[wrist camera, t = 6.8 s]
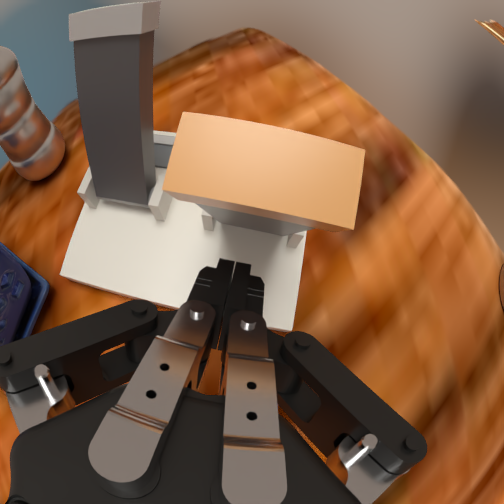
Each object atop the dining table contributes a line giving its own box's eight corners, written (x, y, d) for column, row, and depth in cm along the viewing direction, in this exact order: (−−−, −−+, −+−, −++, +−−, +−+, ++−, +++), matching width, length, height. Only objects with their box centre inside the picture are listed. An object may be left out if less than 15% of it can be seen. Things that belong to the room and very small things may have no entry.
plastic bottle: (79, 157, 28) (2, 13, 9) (36, 199, 26) (-69, 76, 7) (59, 133, 29) (-6, 8, 10) (19, 169, 27) (-64, 59, 8)
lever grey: (107, 188, 25) (90, 9, 12) (160, 197, 25) (160, 1, 12) (95, 205, 23) (68, 14, 11) (150, 215, 23) (142, 3, 11)
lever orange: (224, 197, 24) (182, 111, 8) (289, 210, 24) (364, 150, 8) (218, 225, 24) (161, 189, 8) (283, 239, 24) (353, 229, 8)
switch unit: (125, 139, 29) (113, 109, 24) (309, 170, 29) (322, 141, 24) (69, 280, 24) (43, 265, 19) (286, 332, 24) (300, 328, 19)
